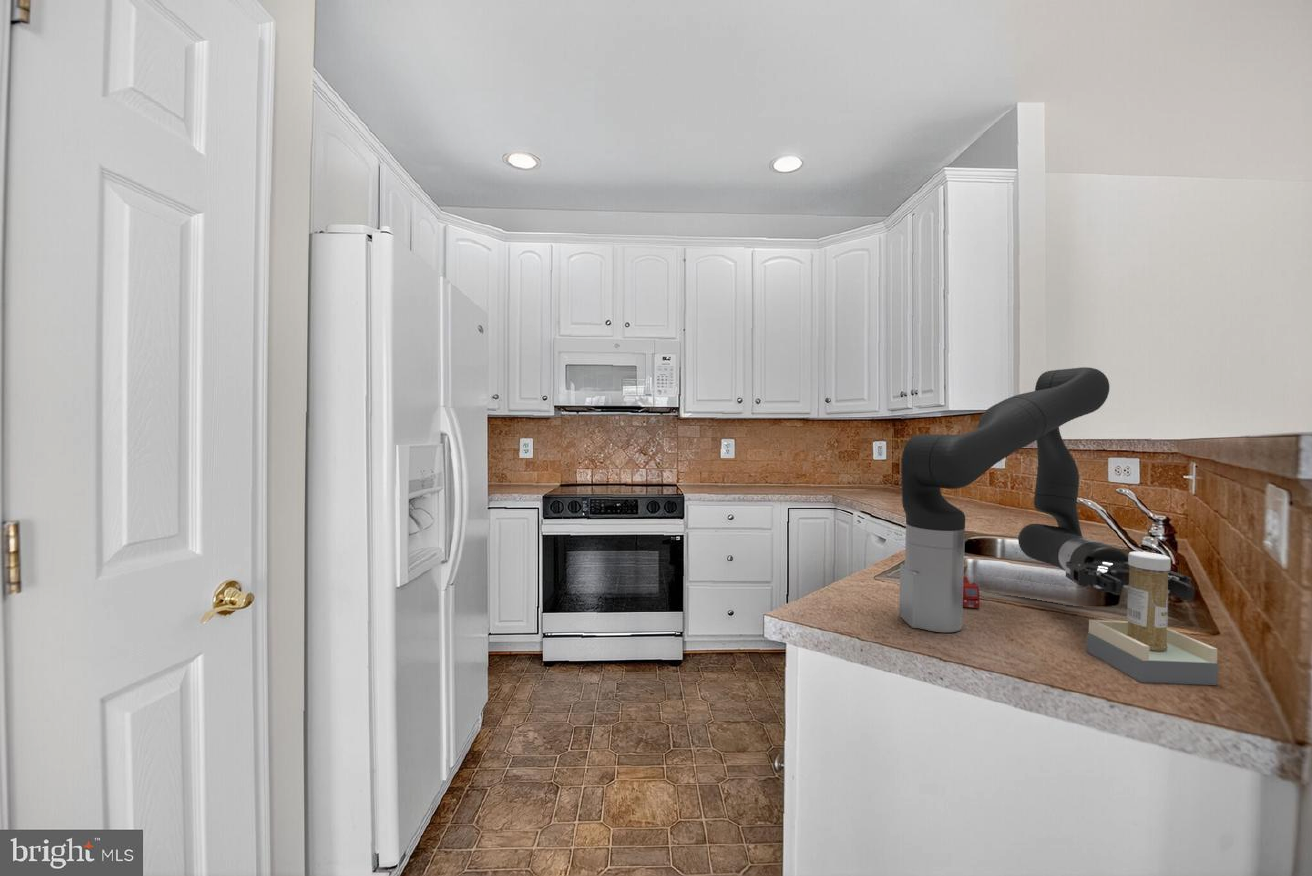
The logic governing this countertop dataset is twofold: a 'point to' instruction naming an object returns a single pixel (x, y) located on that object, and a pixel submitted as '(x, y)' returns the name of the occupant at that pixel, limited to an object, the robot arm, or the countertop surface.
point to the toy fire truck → (970, 591)
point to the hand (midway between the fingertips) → (1154, 590)
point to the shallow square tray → (1153, 655)
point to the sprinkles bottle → (1148, 598)
